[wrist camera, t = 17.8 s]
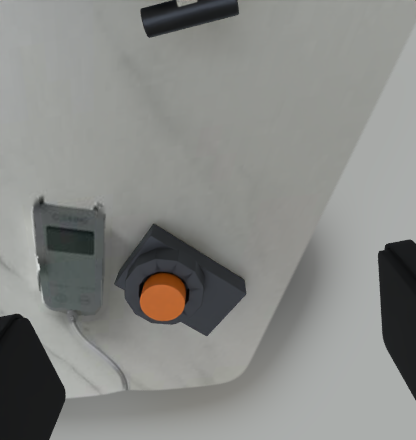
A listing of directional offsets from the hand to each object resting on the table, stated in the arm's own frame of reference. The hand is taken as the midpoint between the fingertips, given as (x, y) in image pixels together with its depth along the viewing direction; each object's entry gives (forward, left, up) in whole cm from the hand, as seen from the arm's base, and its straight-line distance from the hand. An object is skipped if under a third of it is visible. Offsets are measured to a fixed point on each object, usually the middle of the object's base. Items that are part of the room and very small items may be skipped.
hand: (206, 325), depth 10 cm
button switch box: (-6, +12, -23) cm, 26 cm away
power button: (-4, +12, -19) cm, 23 cm away
